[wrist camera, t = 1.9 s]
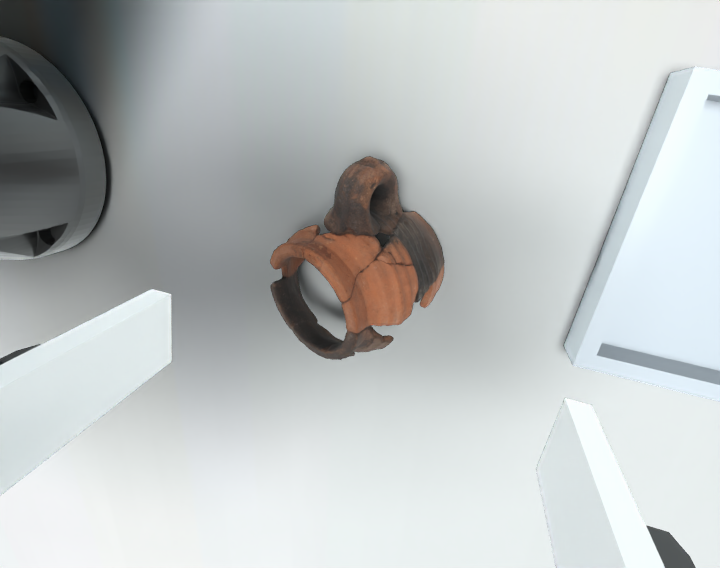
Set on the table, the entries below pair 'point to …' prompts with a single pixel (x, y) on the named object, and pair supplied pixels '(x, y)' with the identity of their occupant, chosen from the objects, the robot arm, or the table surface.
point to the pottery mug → (361, 263)
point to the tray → (662, 254)
